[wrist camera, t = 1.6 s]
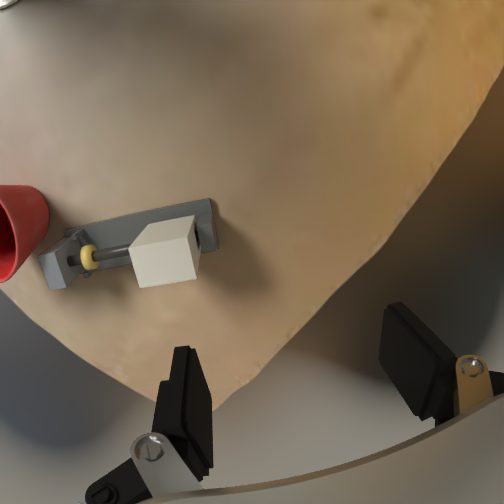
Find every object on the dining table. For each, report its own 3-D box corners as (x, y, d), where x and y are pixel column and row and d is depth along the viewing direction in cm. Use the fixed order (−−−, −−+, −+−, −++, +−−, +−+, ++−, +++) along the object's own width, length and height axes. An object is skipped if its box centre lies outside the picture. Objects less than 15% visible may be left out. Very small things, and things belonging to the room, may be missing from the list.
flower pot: (38, 270, 33) (0, 303, 24) (-8, 218, 29) (-52, 240, 20) (73, 211, 31) (31, 235, 22) (22, 157, 28) (-27, 165, 18)
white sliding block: (156, 255, 31) (139, 288, 24) (148, 223, 30) (128, 248, 23) (201, 247, 31) (196, 278, 24) (194, 214, 30) (187, 236, 23)
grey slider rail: (76, 271, 33) (52, 297, 27) (63, 230, 31) (35, 249, 25) (218, 245, 34) (219, 269, 28) (209, 198, 32) (207, 211, 26)
